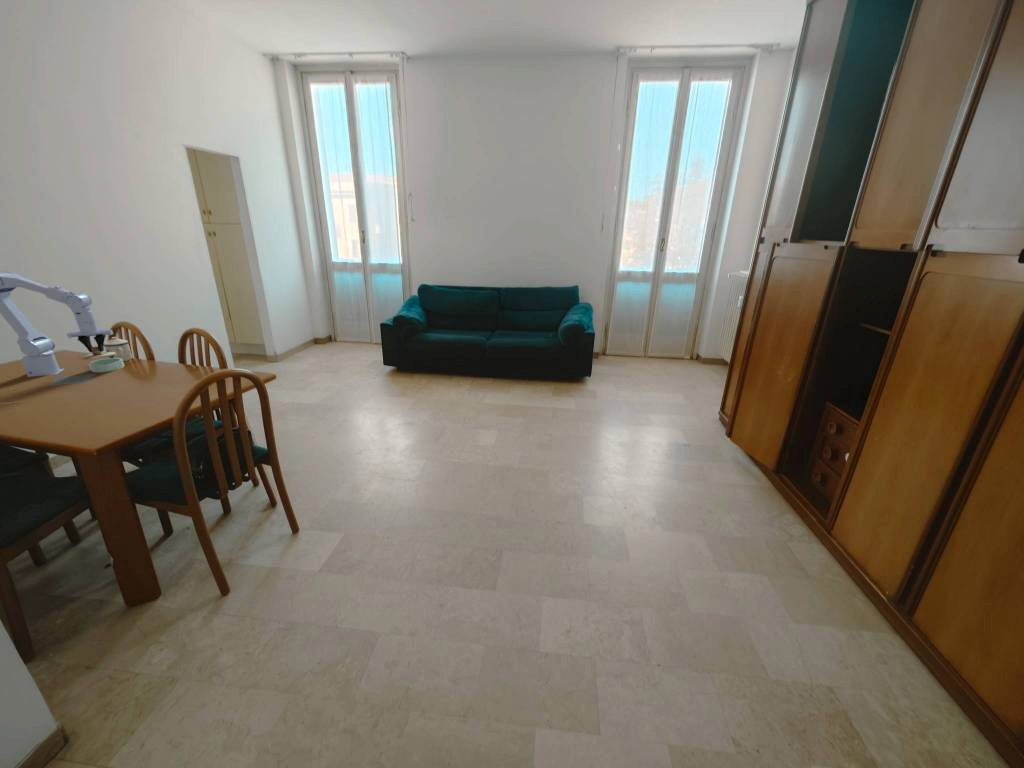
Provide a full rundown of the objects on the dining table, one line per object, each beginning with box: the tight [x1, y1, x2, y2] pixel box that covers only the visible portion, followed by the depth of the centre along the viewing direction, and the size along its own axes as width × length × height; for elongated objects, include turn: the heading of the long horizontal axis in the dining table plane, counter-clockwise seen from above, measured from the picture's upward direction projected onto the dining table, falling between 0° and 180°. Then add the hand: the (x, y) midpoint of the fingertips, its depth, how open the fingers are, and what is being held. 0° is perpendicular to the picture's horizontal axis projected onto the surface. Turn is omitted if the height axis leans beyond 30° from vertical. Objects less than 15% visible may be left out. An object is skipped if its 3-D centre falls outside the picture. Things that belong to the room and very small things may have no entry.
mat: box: [46, 373, 97, 387], centre depth 172 cm, size 12×12×1 cm
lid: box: [78, 345, 116, 361], centre depth 181 cm, size 12×12×4 cm
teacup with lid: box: [103, 336, 134, 362], centre depth 197 cm, size 12×9×12 cm
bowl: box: [88, 357, 125, 373], centre depth 186 cm, size 11×11×4 cm
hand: (96, 351), depth 181 cm, fingers closed on lid, 3 cm apart
